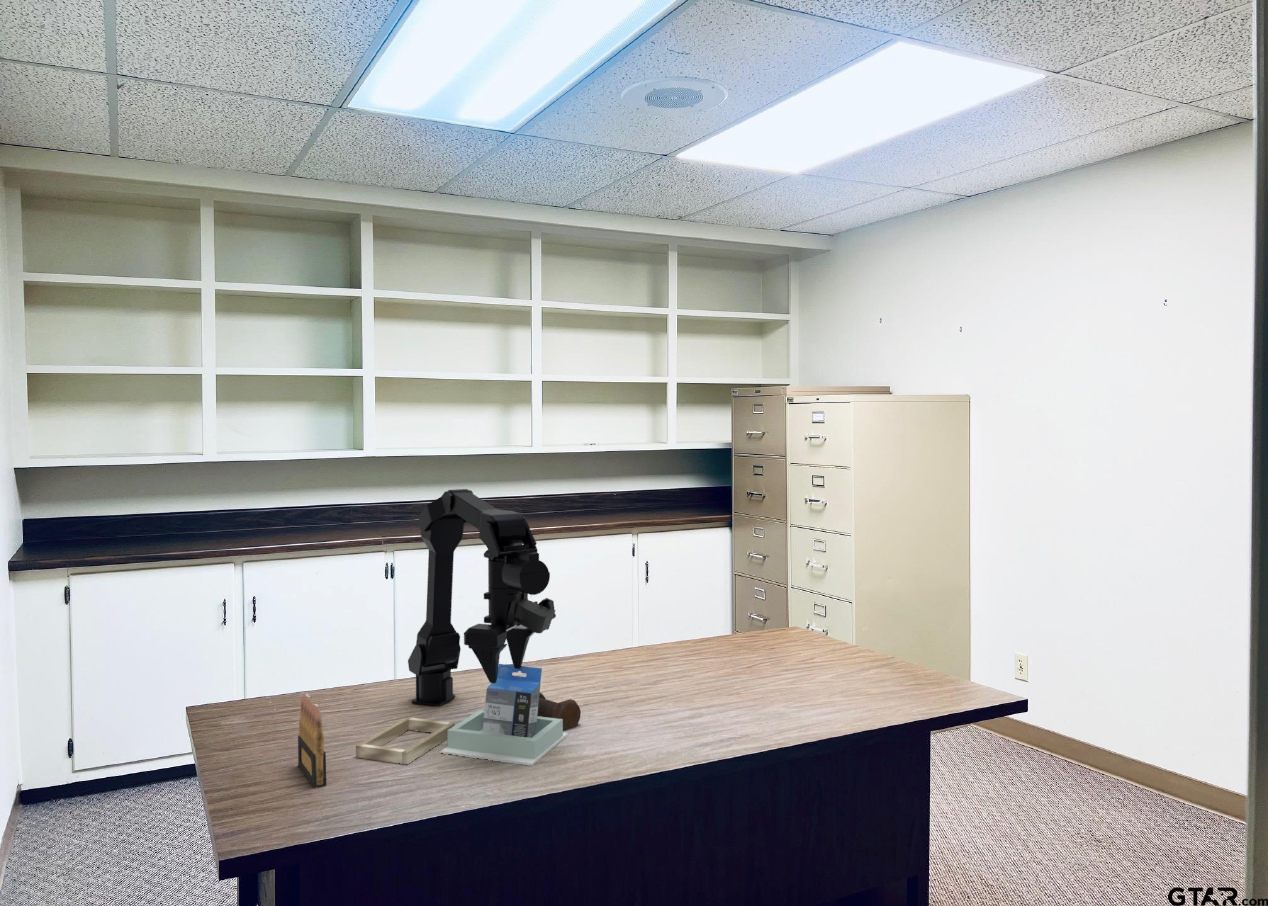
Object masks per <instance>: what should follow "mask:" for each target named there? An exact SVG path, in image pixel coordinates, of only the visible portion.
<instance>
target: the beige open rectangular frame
mask: <svg viewBox="0 0 1268 906" xmlns="http://www.w3.org/2000/svg"><path fill="white" fill-rule="evenodd" d="M455 725H456V723H455V722H449V721H441V720H432V719H425V718H424V719H423V718H417V717H408V716H407V717H405V718H403V719H401V720H399V721H397V722H395V723H394V724H392V725H390V726H388V727H387V728H384V729H383V730H381V731H380V732H378V733H376V734H374V735H372V736H370V737H369V738H366V739H365V740H363V741H361V742H359V743H357V744H356V745H355V758H356V759H357V758H358V759H364V760H371V761H377V762H378V761H379V762H386V763H392V764H399V763H400V764H401V765H406V764H408V765H409V763H410V764H411V763H413V762H414V761H415V759H416V758H417V759H419V758H420V757H422V756H423V755H425V754H426V752H427V753H428V752H430V751H431V750H433V749H434V748H436V747H437V746H439V745H440V744H442V743H444V742H445V741H447V740H448V732H447V730H449V729H450V728H452V727H454V726H455ZM407 730H408V731H410V730H417V731H421V732H420V733H425V732H431V733H429V735H428V736H425V737H424V738H423V739H421V740H419V741H418V742H416V743H414V744H413V745H411V746H409V747H408V748H406V749H402V748H396V747H388V746H384V745H386V744H387V742H388V743H389V741H390V742H391V741H393V740H395V739H397V738H398V737H400V736H402V735H404V734H405V733H406V732H405V731H407ZM408 731H407V732H408ZM417 731H416V732H417ZM404 732H405V733H404ZM401 734H402V735H401ZM399 735H400V736H399ZM446 739H447V740H446ZM443 741H444V742H443ZM441 742H442V743H441ZM438 744H439V745H438ZM435 746H436V747H435ZM433 747H434V748H433ZM432 748H433V749H432ZM430 749H431V750H430ZM429 750H430V751H429ZM424 753H425V754H424ZM422 754H423V755H422ZM418 757H419V758H418ZM417 759H416V760H417ZM412 761H413V762H412Z"/></svg>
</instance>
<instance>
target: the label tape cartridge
mask: <svg viewBox="0 0 1268 906" xmlns="http://www.w3.org/2000/svg"><path fill="white" fill-rule="evenodd" d="M542 671H543V668H542V667H532V666H522V665H521V668H520V669H515V668H514V665H513V664H503V663H499V667H498V676H497V682H496V683H489V685H488V687H487V688H486V692H485V702H484V709H483V710H484V719H483V728H482V732H487V733H495V734H503V735H511V736H520V737H528V738H532V737H533V736H535V734H536V723H537V713H538V703H539V694H540V693H541V680H542V674H543V673H542ZM518 672H520V673H521V674H525V675H526V676H521V675H513V673H518Z"/></svg>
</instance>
